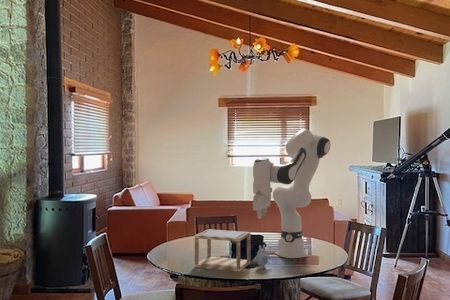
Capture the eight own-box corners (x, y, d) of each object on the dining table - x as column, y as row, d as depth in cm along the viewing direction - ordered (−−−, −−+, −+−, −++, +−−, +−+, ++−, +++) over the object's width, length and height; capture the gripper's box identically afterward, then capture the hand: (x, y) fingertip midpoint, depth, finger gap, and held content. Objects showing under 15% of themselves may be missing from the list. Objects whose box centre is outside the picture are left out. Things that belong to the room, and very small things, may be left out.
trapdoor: (245, 238, 246) (245, 232, 246) (236, 244, 233) (236, 237, 233) (210, 236, 253) (210, 230, 253) (199, 241, 240) (199, 234, 240)
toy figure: (256, 271, 231) (256, 247, 231) (250, 268, 236) (250, 244, 236) (274, 268, 236) (274, 244, 236) (267, 265, 242) (267, 242, 242)
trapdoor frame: (250, 263, 247) (250, 232, 247) (239, 271, 230) (239, 238, 230) (208, 259, 256) (208, 229, 255) (194, 267, 239) (194, 235, 239)
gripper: (261, 192, 225) (262, 220, 225) (273, 188, 244) (273, 214, 244) (249, 192, 227) (249, 220, 227) (261, 188, 246) (261, 214, 246)
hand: (262, 217), depth 236 cm, fingers open, 7 cm apart
